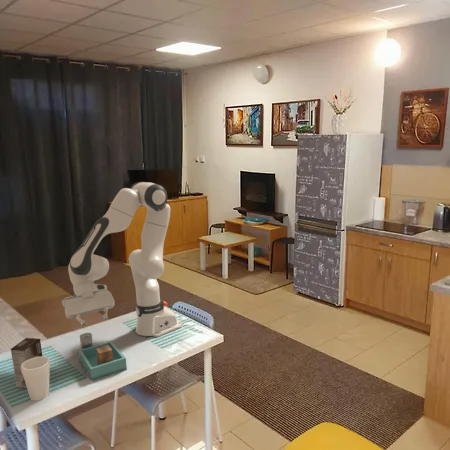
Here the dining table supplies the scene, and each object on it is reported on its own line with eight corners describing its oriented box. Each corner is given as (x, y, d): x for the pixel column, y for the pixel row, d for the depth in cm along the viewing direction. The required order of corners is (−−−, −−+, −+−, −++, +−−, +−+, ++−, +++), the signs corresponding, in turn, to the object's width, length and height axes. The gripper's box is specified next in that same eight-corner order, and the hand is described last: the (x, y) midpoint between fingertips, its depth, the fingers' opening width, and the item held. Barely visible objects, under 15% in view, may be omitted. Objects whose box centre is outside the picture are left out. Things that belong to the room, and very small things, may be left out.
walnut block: (109, 362, 172) (108, 344, 171) (113, 368, 168) (112, 349, 167) (97, 366, 170) (95, 348, 168) (101, 372, 166) (99, 353, 164)
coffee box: (31, 374, 167) (26, 337, 164) (45, 375, 166) (40, 338, 163) (15, 387, 159) (10, 348, 155) (30, 388, 157) (25, 349, 154)
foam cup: (51, 400, 150) (47, 367, 147) (23, 405, 147) (18, 372, 145) (54, 385, 159) (50, 354, 156) (28, 390, 156) (23, 358, 154)
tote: (112, 351, 184) (111, 341, 183) (126, 369, 169) (125, 358, 168) (79, 361, 176) (78, 350, 175) (91, 380, 161) (90, 369, 160)
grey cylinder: (91, 348, 187) (89, 331, 185) (94, 352, 183) (93, 335, 181) (80, 351, 184) (78, 334, 183) (83, 356, 180) (81, 339, 179)
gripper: (61, 295, 172) (69, 325, 166) (109, 284, 183) (119, 312, 177) (60, 302, 177) (68, 331, 171) (107, 291, 188) (116, 318, 182)
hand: (94, 321), depth 174 cm, fingers open, 8 cm apart
